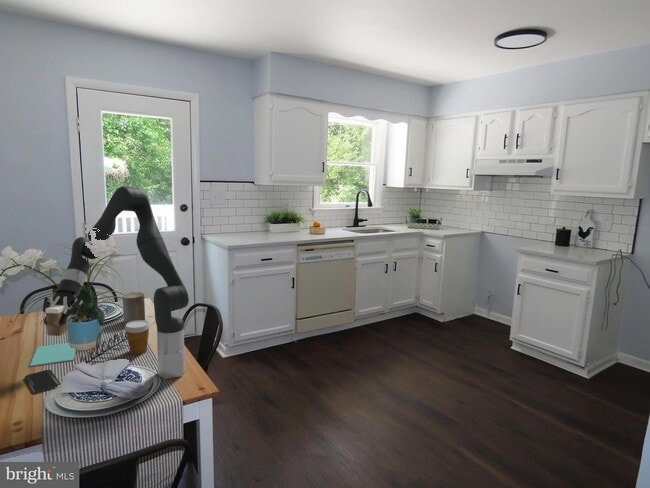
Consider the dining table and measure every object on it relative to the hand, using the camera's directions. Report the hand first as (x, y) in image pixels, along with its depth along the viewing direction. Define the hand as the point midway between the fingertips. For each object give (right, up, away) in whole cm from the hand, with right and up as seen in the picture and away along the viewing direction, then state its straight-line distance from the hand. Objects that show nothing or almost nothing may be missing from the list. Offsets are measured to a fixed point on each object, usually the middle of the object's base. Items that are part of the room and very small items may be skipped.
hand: (53, 324), depth 149 cm
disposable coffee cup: (+21, -16, +21) cm, 34 cm away
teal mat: (-10, -15, +16) cm, 24 cm away
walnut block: (0, -4, +3) cm, 5 cm away
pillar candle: (+4, -9, +54) cm, 55 cm away
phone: (0, -20, -5) cm, 20 cm away
